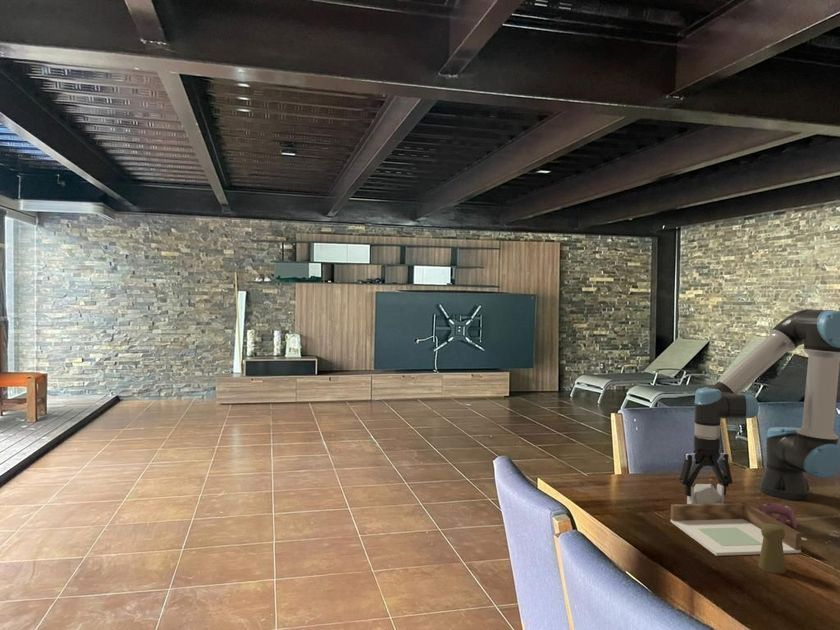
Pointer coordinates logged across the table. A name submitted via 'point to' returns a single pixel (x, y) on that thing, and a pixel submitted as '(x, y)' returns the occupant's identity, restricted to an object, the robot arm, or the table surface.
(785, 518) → the video game controller
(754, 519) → the wooden corner tray
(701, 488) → the die
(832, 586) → the table surface
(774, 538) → the olive pawn figure
